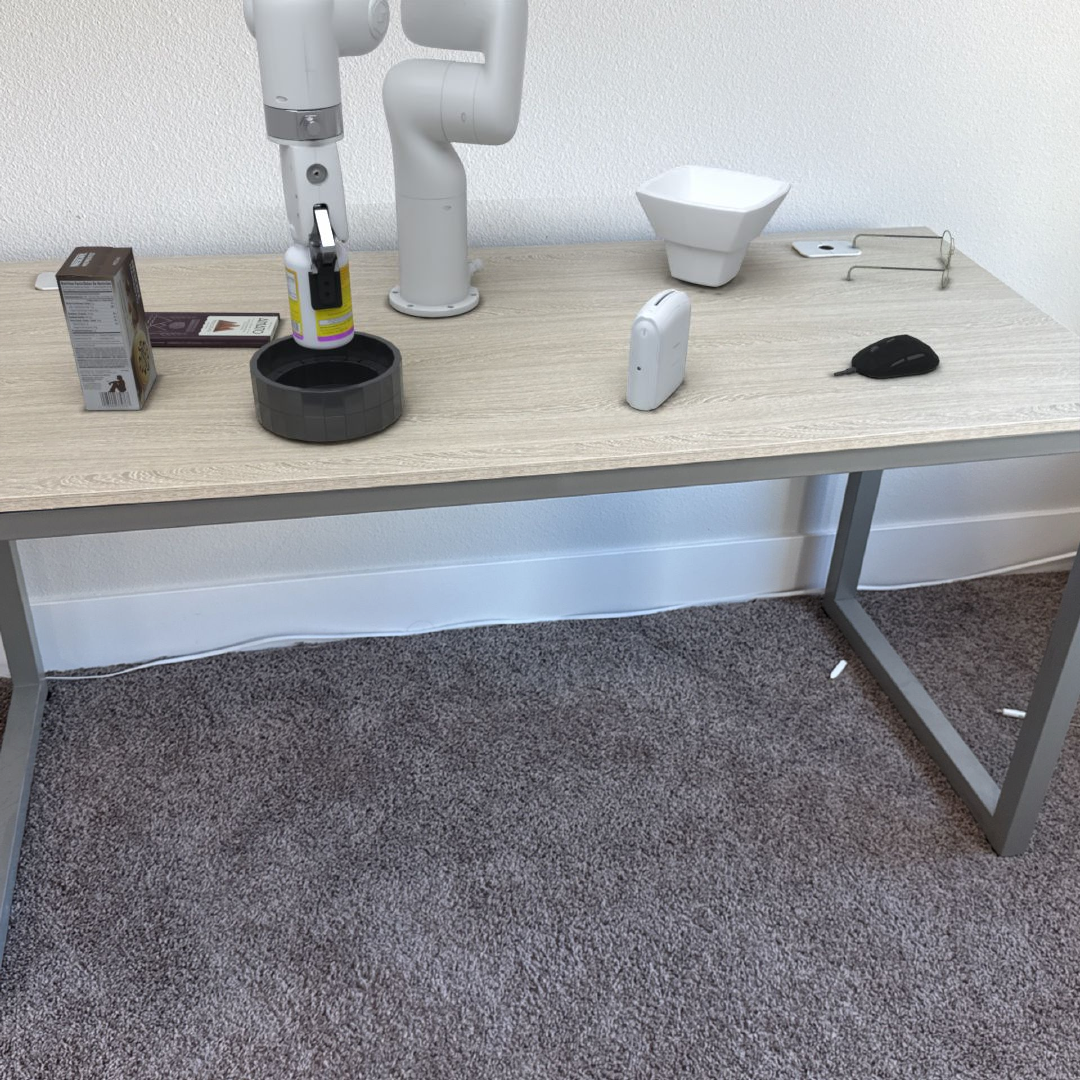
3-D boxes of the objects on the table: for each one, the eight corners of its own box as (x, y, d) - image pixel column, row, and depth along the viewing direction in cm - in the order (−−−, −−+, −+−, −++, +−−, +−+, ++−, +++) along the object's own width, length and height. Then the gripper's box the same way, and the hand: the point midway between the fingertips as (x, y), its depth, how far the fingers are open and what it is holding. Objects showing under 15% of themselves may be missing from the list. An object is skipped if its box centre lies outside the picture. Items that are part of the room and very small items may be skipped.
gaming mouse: (820, 365, 138) (825, 336, 136) (917, 351, 143) (924, 322, 141) (848, 386, 134) (854, 356, 131) (948, 371, 138) (955, 341, 136)
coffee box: (103, 377, 131) (75, 245, 122) (158, 376, 131) (134, 244, 122) (83, 411, 123) (51, 273, 114) (142, 410, 124) (115, 273, 115)
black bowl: (323, 368, 134) (318, 318, 131) (432, 402, 127) (430, 350, 124) (225, 420, 122) (217, 367, 119) (340, 461, 115) (335, 405, 112)
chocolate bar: (142, 311, 145) (279, 312, 146) (144, 318, 145) (280, 319, 146) (124, 339, 137) (268, 339, 138) (125, 346, 138) (269, 346, 139)
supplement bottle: (365, 333, 122) (357, 218, 114) (337, 355, 116) (326, 237, 109) (311, 324, 123) (300, 210, 116) (281, 346, 118) (268, 228, 111)
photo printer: (654, 415, 126) (663, 313, 119) (620, 406, 128) (627, 305, 121) (688, 382, 133) (698, 285, 127) (656, 374, 135) (665, 278, 128)
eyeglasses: (949, 292, 161) (957, 259, 158) (846, 280, 164) (852, 247, 162) (947, 257, 174) (954, 226, 171) (851, 247, 177) (857, 216, 175)
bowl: (787, 274, 166) (801, 181, 158) (735, 313, 152) (748, 214, 144) (677, 250, 174) (685, 160, 166) (618, 285, 160) (624, 190, 153)
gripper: (362, 140, 102) (373, 321, 111) (324, 101, 115) (337, 265, 125) (280, 145, 99) (300, 330, 109) (252, 105, 113) (271, 272, 123)
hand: (320, 294), depth 117 cm, fingers closed on supplement bottle, 6 cm apart
